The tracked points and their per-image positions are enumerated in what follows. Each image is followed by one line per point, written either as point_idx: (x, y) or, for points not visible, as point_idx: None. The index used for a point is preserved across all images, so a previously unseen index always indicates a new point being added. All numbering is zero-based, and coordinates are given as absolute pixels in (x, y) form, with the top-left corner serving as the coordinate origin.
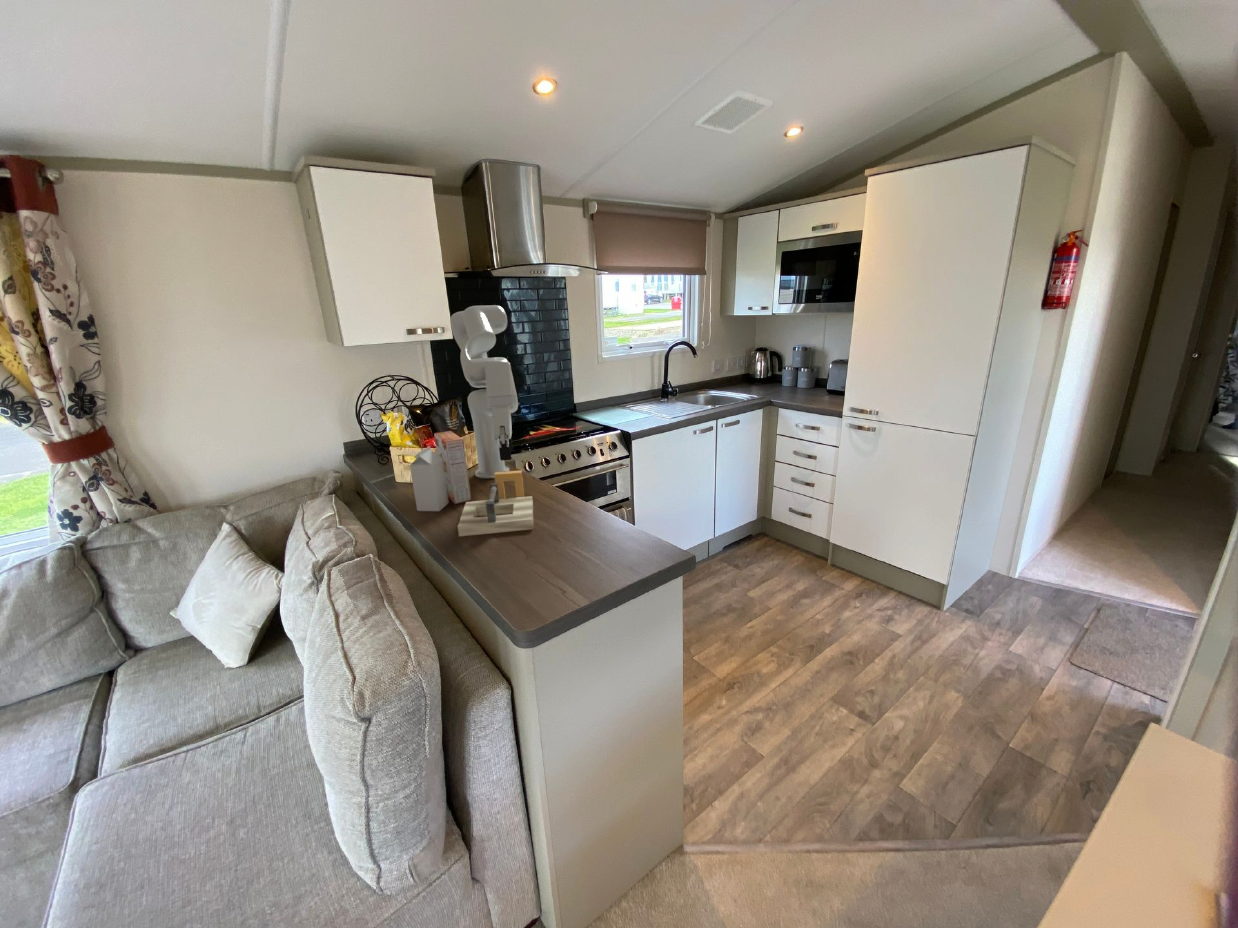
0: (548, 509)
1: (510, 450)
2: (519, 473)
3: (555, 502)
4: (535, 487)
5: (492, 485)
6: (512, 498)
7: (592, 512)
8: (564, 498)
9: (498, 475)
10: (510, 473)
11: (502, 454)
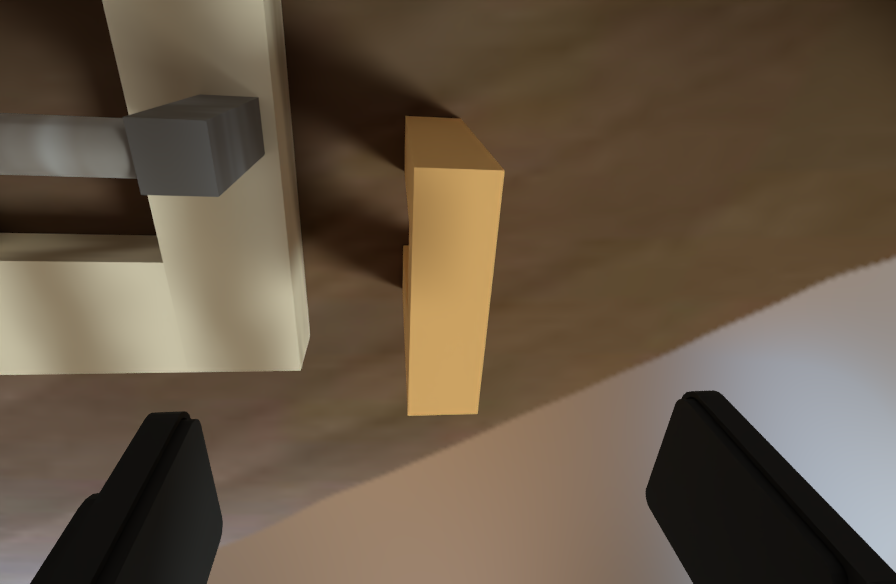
0: (230, 405)
1: (660, 497)
2: (409, 395)
3: (328, 434)
4: (602, 345)
5: (128, 144)
6: (277, 251)
7: None
8: (376, 468)
9: (412, 210)
10: (414, 329)
11: (53, 549)
